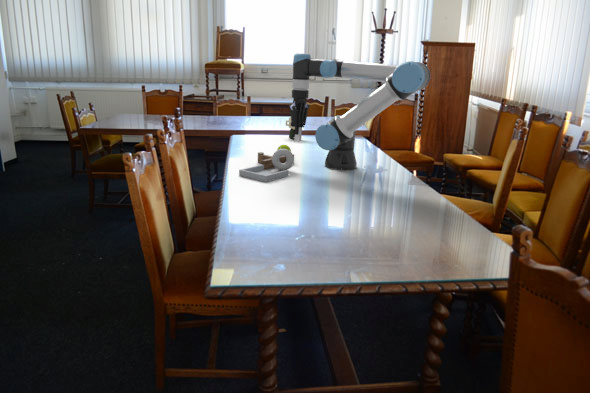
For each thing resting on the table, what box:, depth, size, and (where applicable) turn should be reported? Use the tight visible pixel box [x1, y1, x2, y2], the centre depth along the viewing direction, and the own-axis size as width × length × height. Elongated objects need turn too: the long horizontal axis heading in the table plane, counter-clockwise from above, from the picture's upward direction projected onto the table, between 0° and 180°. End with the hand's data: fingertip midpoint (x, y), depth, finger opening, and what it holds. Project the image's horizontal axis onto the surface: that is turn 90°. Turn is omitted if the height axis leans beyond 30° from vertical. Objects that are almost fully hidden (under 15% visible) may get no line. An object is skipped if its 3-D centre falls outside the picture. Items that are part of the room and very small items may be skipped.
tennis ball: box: [276, 144, 292, 153], centre depth 241 cm, size 7×7×7 cm
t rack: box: [257, 151, 295, 170], centre depth 228 cm, size 12×22×5 cm, turn 143°
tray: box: [238, 164, 290, 183], centre depth 205 cm, size 15×15×2 cm
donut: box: [271, 149, 295, 171], centre depth 215 cm, size 10×4×10 cm, turn 91°
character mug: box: [285, 116, 295, 140], centre depth 299 cm, size 11×7×13 cm, turn 94°
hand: (297, 141), depth 222 cm, fingers closed
